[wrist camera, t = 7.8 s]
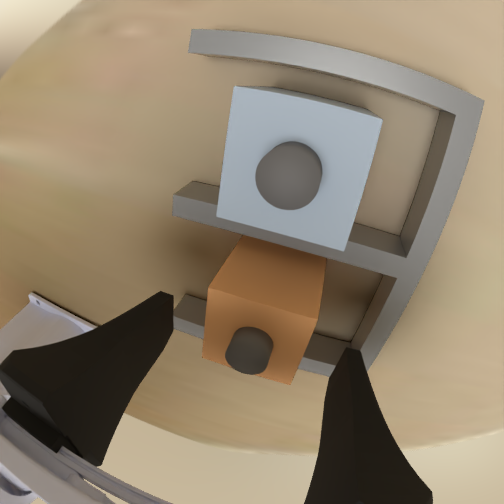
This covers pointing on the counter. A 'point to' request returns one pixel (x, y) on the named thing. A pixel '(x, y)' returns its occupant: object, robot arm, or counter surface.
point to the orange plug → (263, 309)
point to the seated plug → (296, 163)
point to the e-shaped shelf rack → (361, 237)
